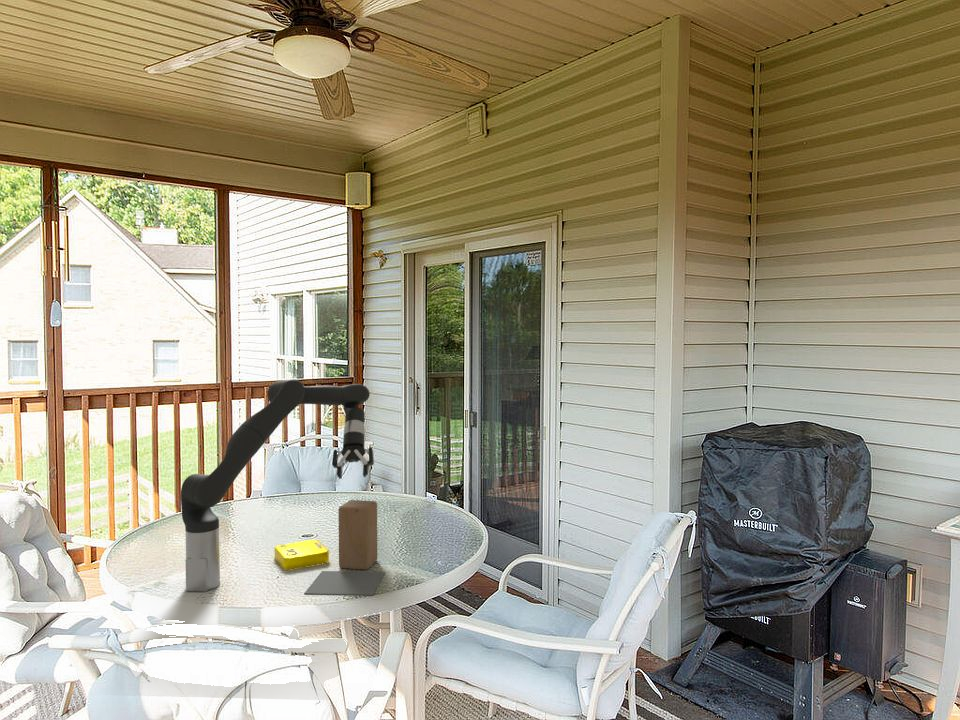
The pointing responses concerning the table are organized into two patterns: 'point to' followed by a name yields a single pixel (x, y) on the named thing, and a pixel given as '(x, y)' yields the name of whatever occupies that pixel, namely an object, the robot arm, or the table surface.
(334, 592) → the mat
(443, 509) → the table surface
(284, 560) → the yellow labelled tile
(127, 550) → the table surface
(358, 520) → the wooden block
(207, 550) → the robot arm
